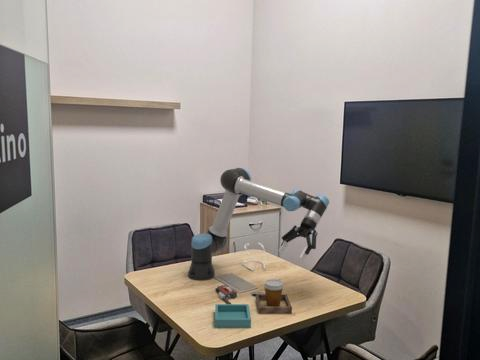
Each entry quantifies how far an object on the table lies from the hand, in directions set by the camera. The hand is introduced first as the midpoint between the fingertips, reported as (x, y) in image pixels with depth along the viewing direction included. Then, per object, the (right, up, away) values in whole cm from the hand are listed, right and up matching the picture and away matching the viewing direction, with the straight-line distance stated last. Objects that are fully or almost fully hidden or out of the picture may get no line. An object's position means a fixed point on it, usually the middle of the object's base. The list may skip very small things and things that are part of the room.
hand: (290, 255), depth 202 cm
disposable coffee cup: (-9, -24, -4) cm, 26 cm away
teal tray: (-28, -25, -18) cm, 42 cm away
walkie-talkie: (-31, -23, +6) cm, 39 cm away
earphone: (-16, -16, +52) cm, 57 cm away
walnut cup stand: (-9, -24, -4) cm, 26 cm away
